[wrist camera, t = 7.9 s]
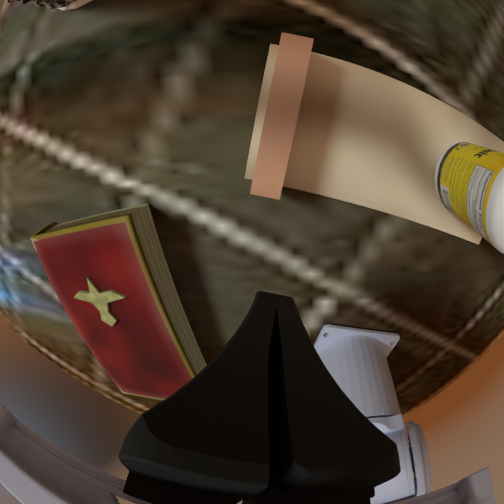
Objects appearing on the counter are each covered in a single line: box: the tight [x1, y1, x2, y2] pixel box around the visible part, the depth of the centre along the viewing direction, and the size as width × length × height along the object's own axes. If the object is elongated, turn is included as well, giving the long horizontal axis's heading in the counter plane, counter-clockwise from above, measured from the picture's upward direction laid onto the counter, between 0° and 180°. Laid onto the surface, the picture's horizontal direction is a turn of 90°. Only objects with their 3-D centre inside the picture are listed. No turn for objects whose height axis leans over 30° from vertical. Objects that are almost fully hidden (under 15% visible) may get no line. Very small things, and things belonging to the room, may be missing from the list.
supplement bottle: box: [435, 142, 504, 254], centre depth 11 cm, size 5×5×10 cm
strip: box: [245, 32, 504, 245], centre depth 14 cm, size 9×20×3 cm, turn 80°
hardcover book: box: [31, 204, 207, 400], centre depth 23 cm, size 12×21×4 cm, turn 9°
